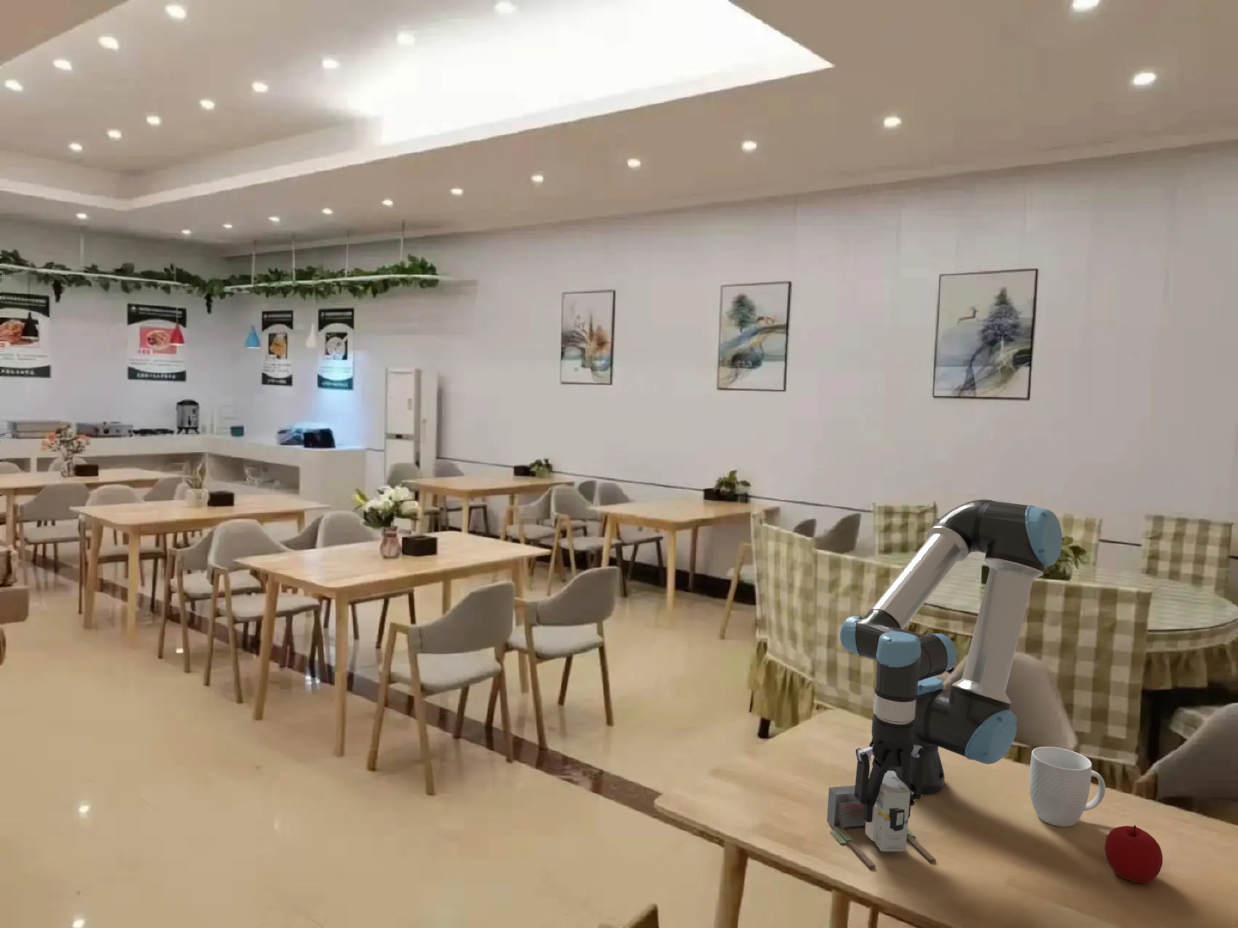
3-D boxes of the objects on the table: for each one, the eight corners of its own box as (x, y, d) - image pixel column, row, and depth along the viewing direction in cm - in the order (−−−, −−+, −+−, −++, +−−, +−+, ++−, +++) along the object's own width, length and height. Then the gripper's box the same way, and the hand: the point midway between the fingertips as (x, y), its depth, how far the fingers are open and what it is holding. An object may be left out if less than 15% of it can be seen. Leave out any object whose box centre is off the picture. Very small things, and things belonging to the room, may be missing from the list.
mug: (1085, 806, 183) (1091, 747, 182) (1116, 834, 172) (1123, 771, 171) (1015, 805, 183) (1021, 745, 181) (1043, 832, 172) (1048, 769, 170)
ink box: (863, 827, 168) (868, 769, 167) (888, 827, 169) (892, 769, 167) (880, 852, 160) (885, 790, 159) (906, 851, 160) (911, 790, 159)
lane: (900, 822, 173) (900, 819, 173) (941, 861, 160) (941, 857, 160) (827, 829, 170) (827, 825, 170) (863, 869, 156) (863, 865, 156)
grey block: (885, 815, 176) (888, 782, 175) (895, 824, 173) (897, 791, 172) (826, 821, 173) (829, 787, 172) (835, 830, 170) (837, 796, 169)
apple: (1173, 887, 155) (1178, 833, 154) (1132, 894, 152) (1138, 839, 151) (1129, 859, 163) (1134, 808, 162) (1090, 865, 161) (1095, 813, 160)
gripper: (926, 706, 167) (917, 821, 170) (839, 711, 163) (831, 829, 166) (949, 722, 160) (939, 841, 163) (858, 727, 156) (850, 850, 158)
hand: (885, 835), depth 164 cm, fingers closed on ink box, 5 cm apart
